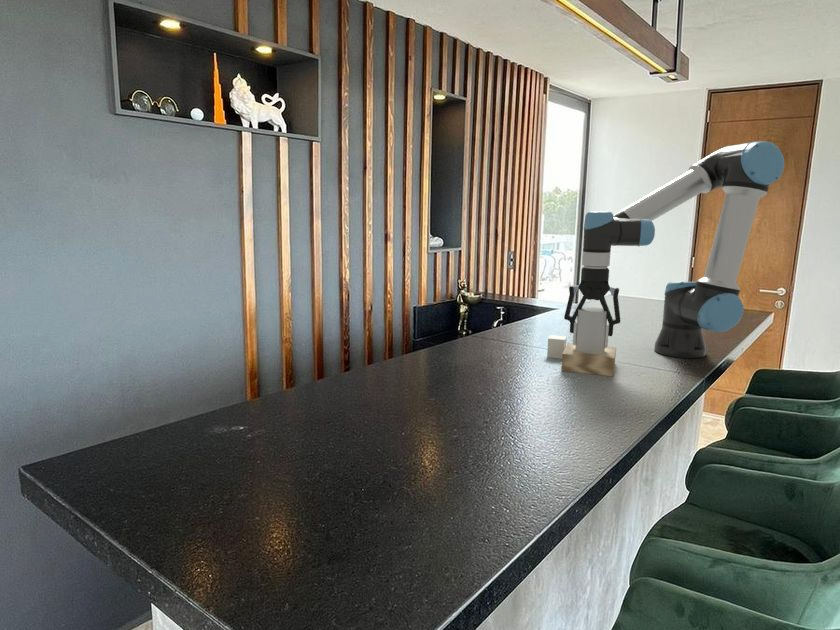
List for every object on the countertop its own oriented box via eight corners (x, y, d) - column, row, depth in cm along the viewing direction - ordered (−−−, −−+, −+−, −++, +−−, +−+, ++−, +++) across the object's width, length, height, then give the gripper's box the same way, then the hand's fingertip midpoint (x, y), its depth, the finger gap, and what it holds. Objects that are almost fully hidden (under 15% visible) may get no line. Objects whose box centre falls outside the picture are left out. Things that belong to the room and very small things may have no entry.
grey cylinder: (601, 347, 172) (604, 307, 170) (607, 354, 164) (610, 312, 162) (573, 346, 173) (575, 306, 170) (578, 353, 165) (580, 311, 162)
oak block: (614, 363, 173) (616, 347, 172) (613, 376, 160) (614, 358, 159) (566, 358, 178) (567, 343, 177) (561, 370, 165) (562, 353, 164)
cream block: (565, 355, 183) (566, 336, 182) (563, 358, 178) (564, 339, 177) (549, 353, 185) (550, 335, 183) (547, 357, 180) (548, 338, 179)
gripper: (634, 267, 164) (628, 345, 168) (559, 264, 171) (555, 339, 175) (634, 270, 157) (628, 351, 161) (556, 266, 164) (551, 345, 168)
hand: (590, 345), depth 168 cm, fingers closed on grey cylinder, 8 cm apart
